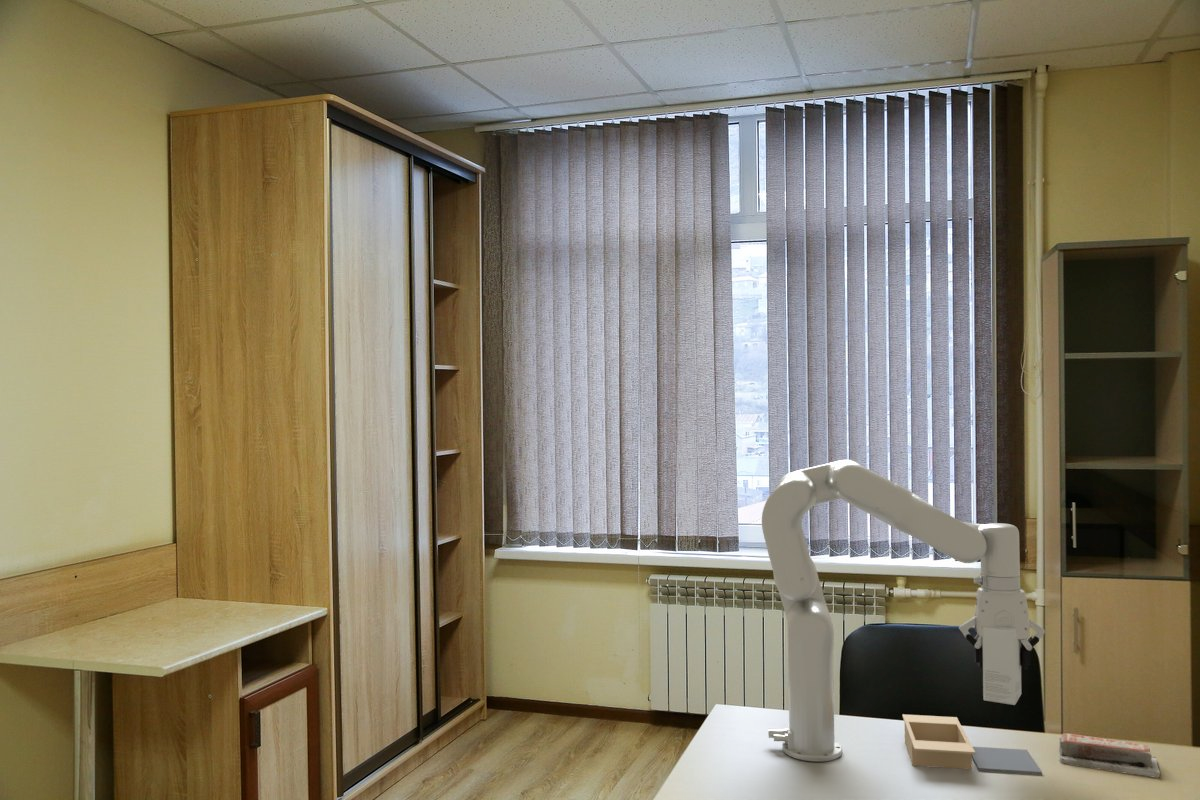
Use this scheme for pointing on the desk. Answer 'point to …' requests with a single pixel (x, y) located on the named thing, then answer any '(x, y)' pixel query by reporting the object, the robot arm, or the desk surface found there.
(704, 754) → the desk surface
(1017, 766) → the mat
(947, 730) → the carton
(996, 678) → the skincare box
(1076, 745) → the packaged product
